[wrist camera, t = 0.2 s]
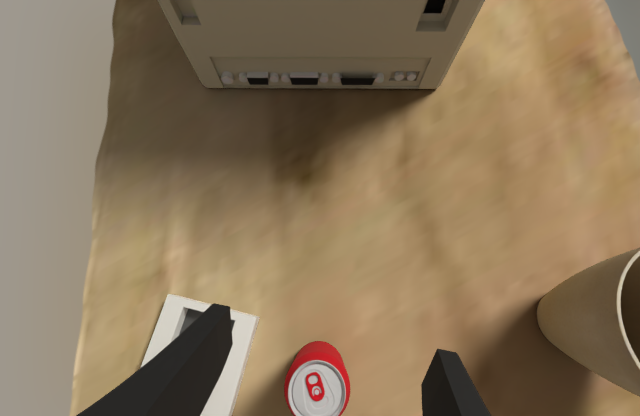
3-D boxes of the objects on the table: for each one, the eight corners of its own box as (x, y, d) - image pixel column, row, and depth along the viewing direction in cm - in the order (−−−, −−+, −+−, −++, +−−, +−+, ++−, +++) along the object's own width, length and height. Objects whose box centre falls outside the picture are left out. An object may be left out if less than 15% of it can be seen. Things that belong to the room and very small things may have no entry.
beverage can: (302, 402, 38) (293, 445, 26) (288, 350, 39) (273, 368, 28) (350, 384, 38) (361, 418, 27) (334, 333, 40) (338, 344, 29)
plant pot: (587, 413, 37) (772, 488, 22) (484, 320, 40) (582, 328, 25) (648, 319, 40) (846, 328, 25) (548, 240, 43) (669, 204, 28)
